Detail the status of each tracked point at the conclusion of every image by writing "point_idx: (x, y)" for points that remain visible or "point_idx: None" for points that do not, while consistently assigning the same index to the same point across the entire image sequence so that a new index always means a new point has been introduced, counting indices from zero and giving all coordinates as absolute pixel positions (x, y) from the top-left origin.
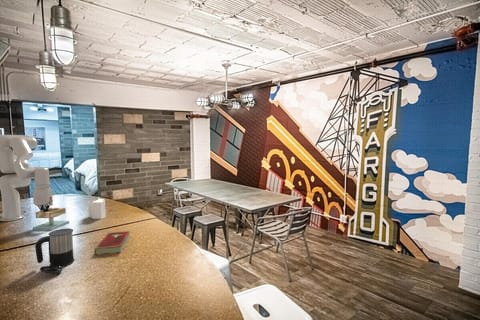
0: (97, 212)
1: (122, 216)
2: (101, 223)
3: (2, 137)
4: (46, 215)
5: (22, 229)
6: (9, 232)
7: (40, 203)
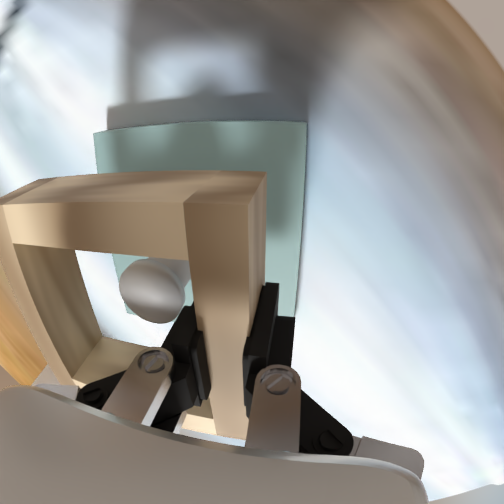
0: (52, 381)
1: (27, 362)
2: (2, 284)
3: None
4: (62, 187)
5: (428, 140)
6: (472, 66)
7: (127, 456)
